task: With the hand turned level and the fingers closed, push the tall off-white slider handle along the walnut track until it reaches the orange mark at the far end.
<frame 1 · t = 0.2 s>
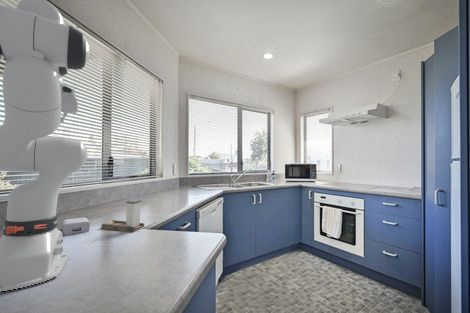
hand: (47, 120, 93), 48 cm above the worktop, tool pointing down, fingers open, 8 cm apart
slider: (133, 213, 105), point 7 cm above the worktop, slide at 0.0 cm
charger: (74, 229, 102), on the worktop
track: (123, 227, 106), on the worktop
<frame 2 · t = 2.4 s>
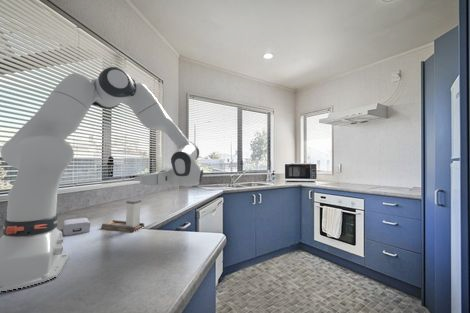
hand: (140, 177, 106), 24 cm above the worktop, tool horizontal, fingers open, 8 cm apart
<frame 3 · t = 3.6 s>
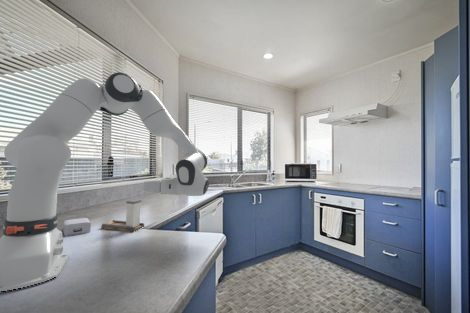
hand: (146, 183, 104), 22 cm above the worktop, tool horizontal, fingers closed
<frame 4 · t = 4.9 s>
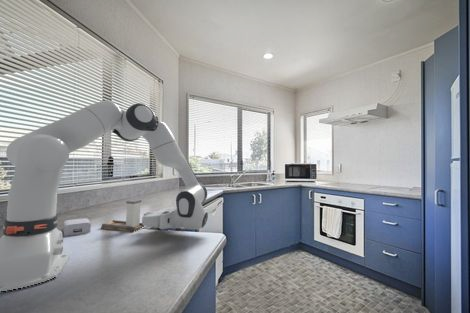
hand: (145, 214, 104), 7 cm above the worktop, tool horizontal, fingers closed
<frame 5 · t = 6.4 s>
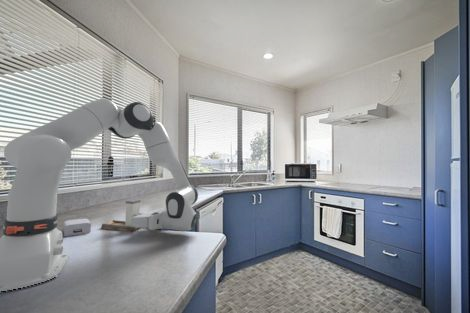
hand: (135, 215, 105), 6 cm above the worktop, tool horizontal, fingers closed, pressing on slider
slider: (132, 213, 105), point 7 cm above the worktop, slide at 0.4 cm, touching gripper
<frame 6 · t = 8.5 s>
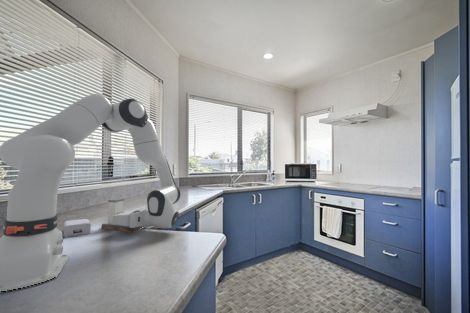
hand: (118, 213, 106), 6 cm above the worktop, tool horizontal, fingers closed, pressing on slider
slider: (115, 211, 107), point 7 cm above the worktop, slide at 9.7 cm, touching gripper
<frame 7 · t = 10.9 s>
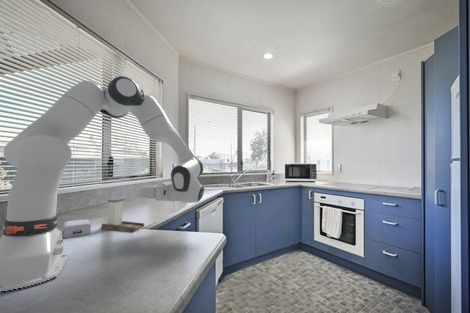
hand: (141, 189, 104), 19 cm above the worktop, tool horizontal, fingers closed
slider: (115, 211, 107), point 7 cm above the worktop, slide at 9.7 cm
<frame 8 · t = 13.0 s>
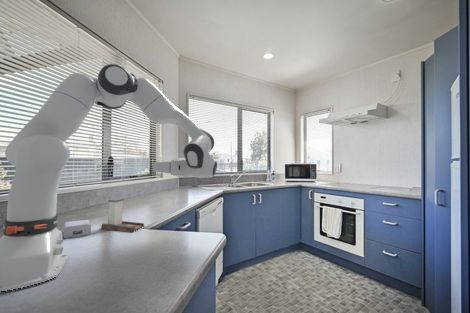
hand: (155, 166, 106), 30 cm above the worktop, tool horizontal, fingers closed
at the end: slider slide at 9.7 cm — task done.
